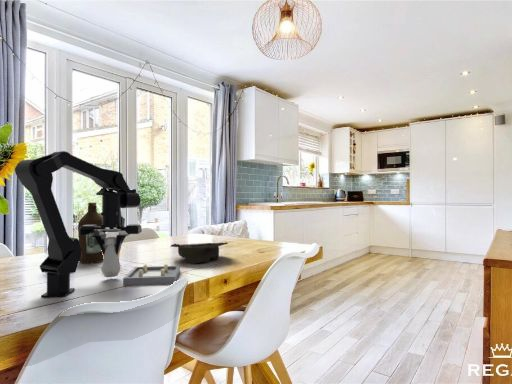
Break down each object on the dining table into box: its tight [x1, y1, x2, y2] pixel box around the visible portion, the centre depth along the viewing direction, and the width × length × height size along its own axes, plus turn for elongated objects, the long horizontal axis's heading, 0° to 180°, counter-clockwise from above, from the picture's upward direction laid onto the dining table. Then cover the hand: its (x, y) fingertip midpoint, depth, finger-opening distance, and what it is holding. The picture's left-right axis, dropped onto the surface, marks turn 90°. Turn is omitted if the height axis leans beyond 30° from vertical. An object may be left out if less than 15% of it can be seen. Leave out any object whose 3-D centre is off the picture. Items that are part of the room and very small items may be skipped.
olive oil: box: [77, 202, 106, 265], centre depth 139 cm, size 11×11×25 cm
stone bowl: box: [170, 242, 229, 265], centre depth 144 cm, size 25×25×9 cm
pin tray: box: [122, 263, 181, 286], centre depth 112 cm, size 16×16×4 cm
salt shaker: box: [101, 236, 121, 278], centre depth 110 cm, size 6×6×13 cm
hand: (111, 254), depth 110 cm, fingers closed on salt shaker, 4 cm apart
